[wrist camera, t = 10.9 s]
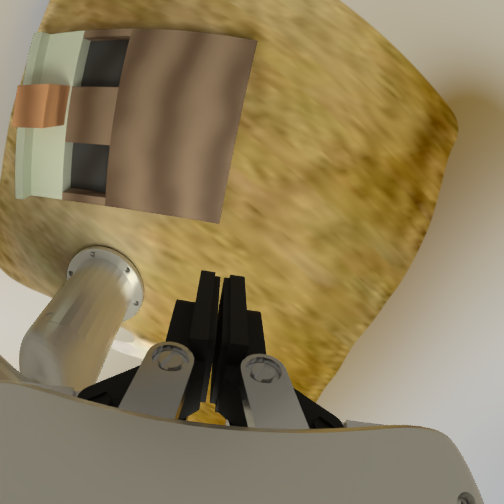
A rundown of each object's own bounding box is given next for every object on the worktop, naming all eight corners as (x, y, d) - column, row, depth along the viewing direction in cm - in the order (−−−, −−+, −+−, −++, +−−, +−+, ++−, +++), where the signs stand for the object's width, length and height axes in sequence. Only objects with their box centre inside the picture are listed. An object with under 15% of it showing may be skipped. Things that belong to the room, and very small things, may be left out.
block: (70, 85, 28) (49, 83, 23) (63, 125, 30) (42, 128, 25) (40, 86, 27) (17, 85, 23) (34, 123, 29) (12, 127, 24)
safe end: (93, 34, 27) (77, 27, 23) (70, 194, 36) (54, 203, 32) (51, 38, 26) (33, 33, 22) (33, 189, 35) (15, 198, 31)
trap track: (256, 45, 30) (257, 40, 28) (220, 217, 39) (219, 223, 36) (93, 34, 27) (84, 30, 25) (70, 194, 36) (62, 199, 34)
